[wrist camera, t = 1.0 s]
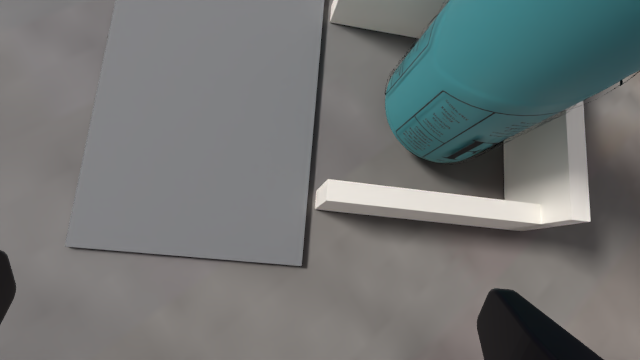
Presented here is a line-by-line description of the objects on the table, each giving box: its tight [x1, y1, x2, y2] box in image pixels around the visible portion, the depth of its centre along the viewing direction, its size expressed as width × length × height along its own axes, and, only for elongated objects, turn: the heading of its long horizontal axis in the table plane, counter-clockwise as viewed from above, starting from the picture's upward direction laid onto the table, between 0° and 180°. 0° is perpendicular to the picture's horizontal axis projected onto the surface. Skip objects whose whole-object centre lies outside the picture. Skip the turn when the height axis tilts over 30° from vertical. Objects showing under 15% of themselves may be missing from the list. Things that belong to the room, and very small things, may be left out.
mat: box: [65, 0, 324, 266], centre depth 23 cm, size 18×11×1 cm, turn 175°
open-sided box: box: [315, 0, 591, 231], centre depth 22 cm, size 12×12×6 cm
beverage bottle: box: [385, 0, 640, 165], centre depth 15 cm, size 6×7×20 cm
